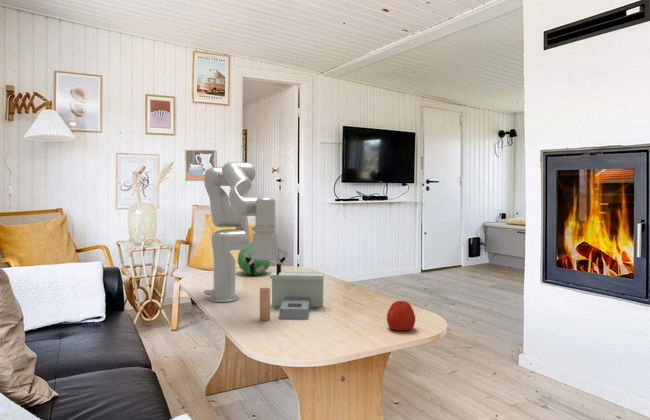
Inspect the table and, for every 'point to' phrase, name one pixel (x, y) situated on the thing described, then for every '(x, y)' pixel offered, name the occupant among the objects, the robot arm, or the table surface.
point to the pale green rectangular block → (297, 287)
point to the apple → (401, 316)
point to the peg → (264, 304)
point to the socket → (294, 308)
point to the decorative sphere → (259, 264)
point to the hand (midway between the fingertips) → (265, 274)
